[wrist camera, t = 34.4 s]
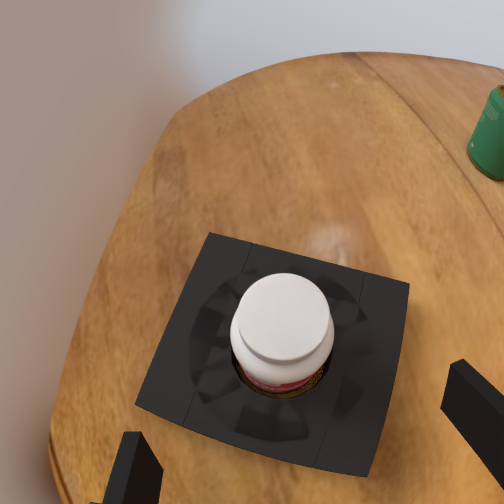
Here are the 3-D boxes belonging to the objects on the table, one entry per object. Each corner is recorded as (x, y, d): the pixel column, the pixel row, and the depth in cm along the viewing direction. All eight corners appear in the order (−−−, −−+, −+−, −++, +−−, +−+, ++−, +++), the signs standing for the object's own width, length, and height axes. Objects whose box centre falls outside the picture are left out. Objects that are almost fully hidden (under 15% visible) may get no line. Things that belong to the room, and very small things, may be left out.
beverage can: (507, 191, 32) (546, 130, 22) (463, 164, 35) (495, 96, 25) (507, 161, 35) (537, 104, 25) (467, 136, 38) (492, 75, 28)
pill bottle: (238, 391, 24) (213, 369, 14) (245, 321, 27) (229, 257, 17) (315, 395, 23) (345, 377, 14) (318, 325, 26) (343, 262, 17)
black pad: (148, 406, 23) (134, 404, 21) (214, 249, 31) (209, 231, 28) (357, 471, 19) (367, 477, 17) (398, 296, 27) (409, 283, 24)
